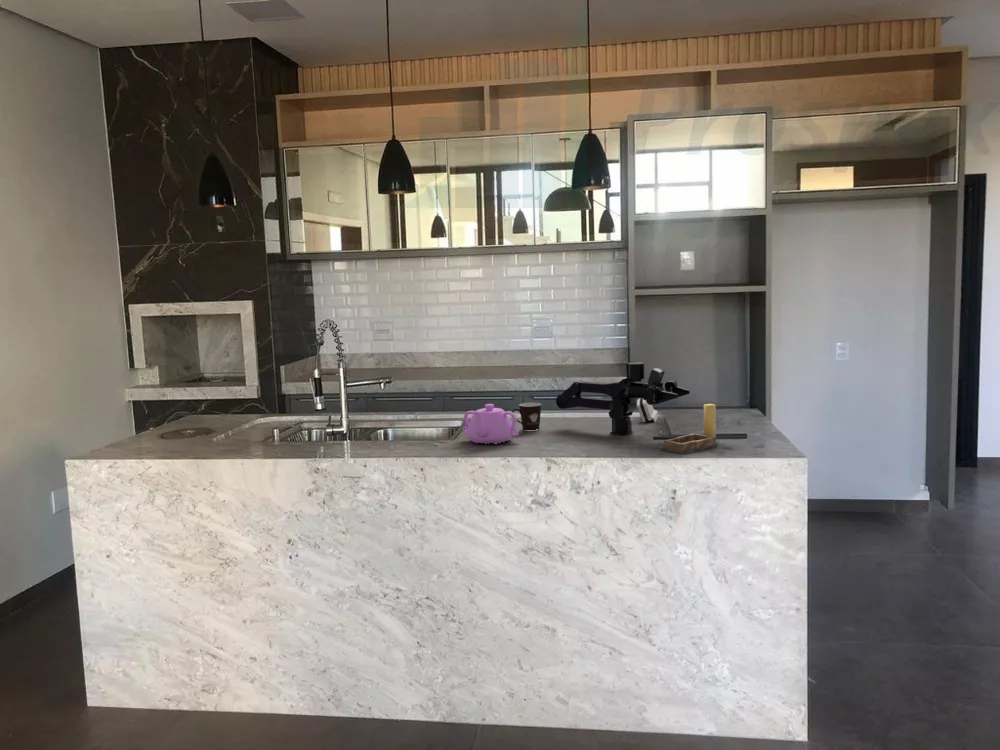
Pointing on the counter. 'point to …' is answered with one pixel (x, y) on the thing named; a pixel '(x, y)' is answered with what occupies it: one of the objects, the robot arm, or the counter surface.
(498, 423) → the teapot
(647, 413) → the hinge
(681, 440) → the frame
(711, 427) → the peg
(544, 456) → the counter surface
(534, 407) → the coffee mug
